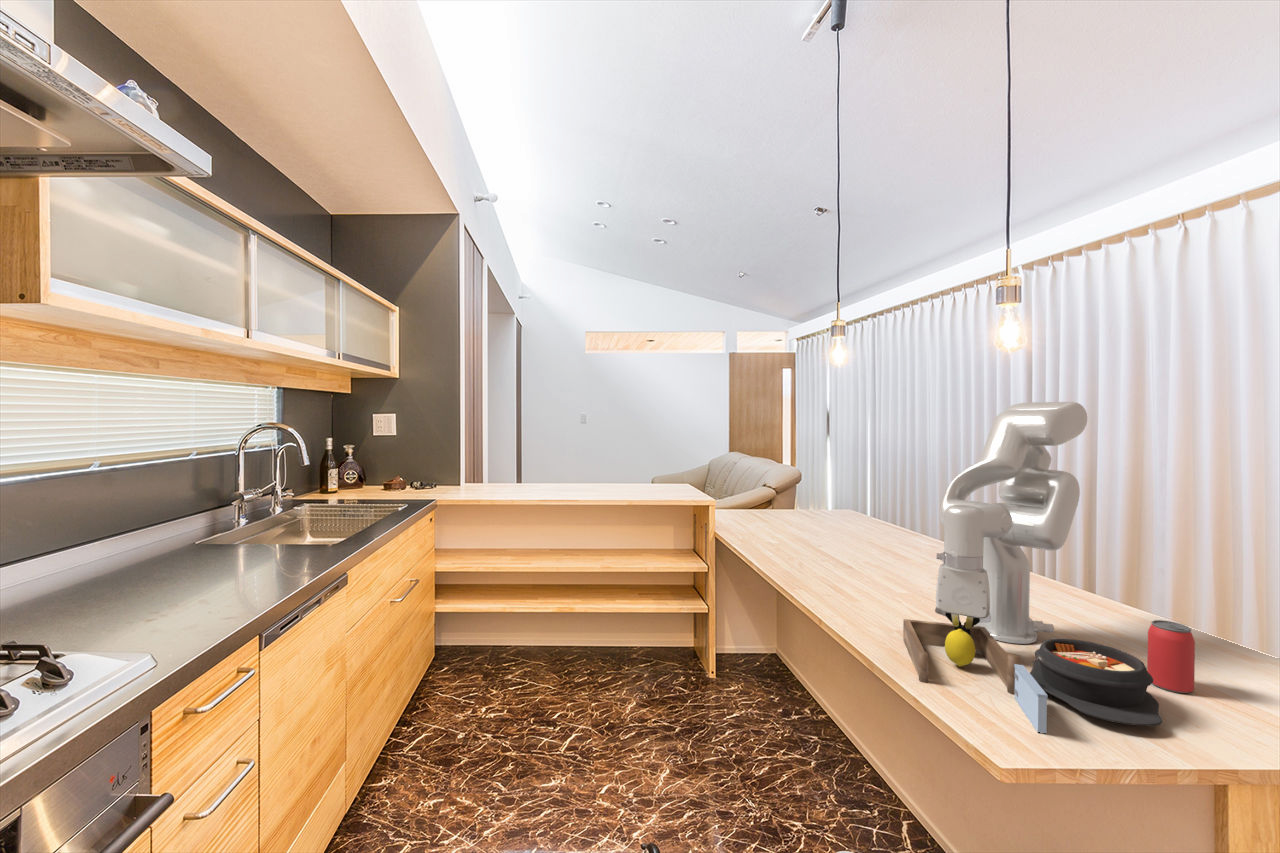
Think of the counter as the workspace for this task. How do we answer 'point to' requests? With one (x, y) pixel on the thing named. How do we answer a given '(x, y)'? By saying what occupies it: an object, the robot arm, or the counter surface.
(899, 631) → the counter surface
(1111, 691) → the casserole
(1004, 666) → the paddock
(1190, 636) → the beer can
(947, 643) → the lemon
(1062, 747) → the counter surface
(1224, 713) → the counter surface
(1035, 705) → the gate
